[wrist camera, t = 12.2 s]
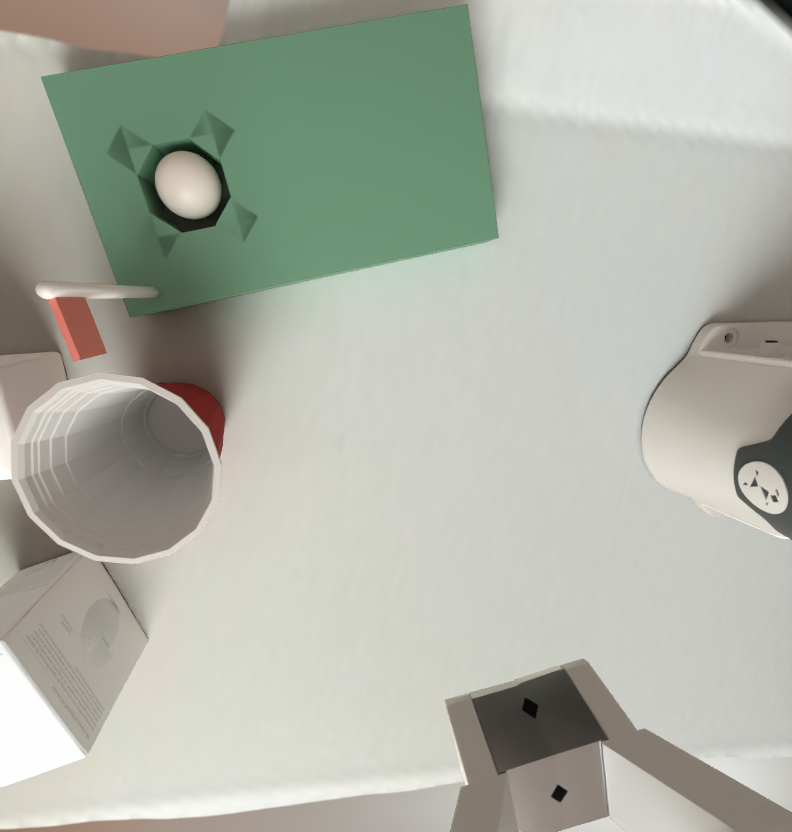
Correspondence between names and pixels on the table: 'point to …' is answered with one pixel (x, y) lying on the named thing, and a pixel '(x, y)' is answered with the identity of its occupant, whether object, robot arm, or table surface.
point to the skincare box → (60, 662)
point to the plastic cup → (119, 465)
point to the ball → (188, 185)
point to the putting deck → (278, 161)
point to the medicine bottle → (23, 393)
